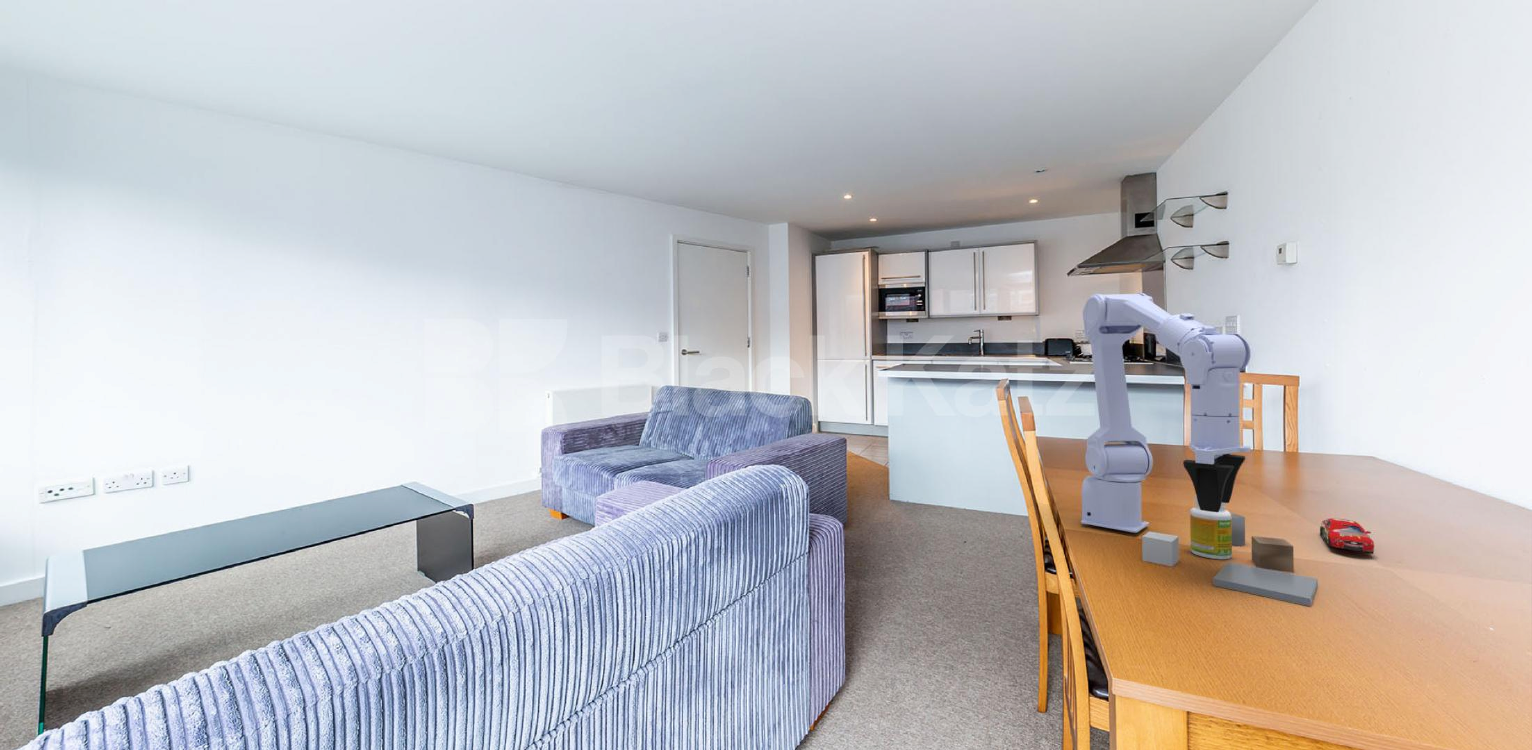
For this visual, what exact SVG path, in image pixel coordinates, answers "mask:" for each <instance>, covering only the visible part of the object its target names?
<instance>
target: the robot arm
mask: <svg viewBox="0 0 1532 750" xmlns="http://www.w3.org/2000/svg"><path fill="white" fill-rule="evenodd" d="M1195 317H1196V316H1195V315H1193V313H1179V314H1173V315H1172V314H1170V313H1169V312H1167V311H1165V310H1164V309H1163V308H1161V307H1160V306H1158V305H1157V304H1155V303H1154V299H1153V296H1150V295H1147V294H1145V293H1142V292H1138V293H1124V294H1123V293H1120V294H1119V293H1118V294H1117V293H1116V294H1115V293H1114V294H1112V293H1111V294H1101V293H1094V294H1092V295H1090V296H1089V298H1088V299H1087V300H1086V302H1085V305H1084V307H1083V310H1082V320H1083V327H1084V335H1085V339H1086V340H1088V341H1089V342H1090V350H1091V359H1092V367H1093V375H1094V377H1093V378H1094V382H1095V384H1094V385H1095V393H1096V395H1095V396H1096V401H1097V410H1098V419H1099V421H1098V422H1099V428H1098V429H1097V430H1096V431H1094V432H1093V433H1092V434H1091V435H1090V436H1089V435H1088V437H1087V438H1086V452H1085V458H1084V459H1085V465H1086V468H1087V470H1088V471H1089V473H1090V474H1091V475H1087V476H1085V477H1084V479H1083V482H1082V485H1081V486H1082V487H1081V520H1080V523H1081V524H1083V525H1090V526H1091V525H1092V526H1095V527H1102V528H1106V529H1112V530H1113V529H1114V530H1118V531H1124V532H1129V533H1135V534H1136V533H1138V532H1140V531H1141V530H1143V529H1145V528H1146V527H1147V526H1149V524H1150V522H1148V521H1145V520H1144V521H1143V520H1142V481H1146V476H1148V475H1149V474H1150V473H1151V471H1152V468H1153V465H1154V458H1153V455H1152V453H1151V450H1150V449H1149V446H1148V443H1147V437H1146V435H1144V433H1143V434H1142V433H1141V432H1140V431H1138V430H1137V429H1136V428H1134V427H1133V424H1132V417H1131V410H1130V401H1129V393H1128V388H1127V387H1128V386H1127V378H1126V371H1125V362H1124V361H1125V360H1124V354H1123V353H1124V352H1123V345H1124V344H1125V342H1127V341H1128V340H1131V339H1133V338H1134V337H1135V336H1136V334H1138V333H1139V332H1140V330H1141V329H1142V328H1145V329H1147V330H1149V331H1151V332H1153V333H1155V338H1156V340H1157V342H1158V344H1159V345H1161V346H1162V347H1164V348H1165V349H1167V350H1169V351H1170V352H1172V353H1173V354H1175V355H1176V356H1178V357H1179V358H1180V363H1181V365H1182V367H1183V369H1184V370H1185V380H1186V382H1187V384H1189V385H1190V442H1189V444H1188V445H1189V446H1188V448H1189V449H1190V450H1191V451H1192V452H1194V454H1195V457H1194V459H1195V460H1193V459H1184V460H1183V461H1182V463H1183V468H1184V470H1185V471H1186V473H1187V474H1188V475H1189V477H1190V479H1191V482H1192V484H1193V485H1192V486H1193V487H1194V488H1193V489H1194V492H1195V495H1196V496H1197V501H1198V504H1199V507H1200V510H1203V511H1210V512H1219V510H1220V507H1221V503H1226V504H1229V503H1230V501H1231V499H1232V494H1233V490H1234V486H1235V481H1236V478H1237V475H1238V472H1239V471H1240V468H1241V466H1242V465H1243V464H1244V463H1245V460H1246V456H1245V455H1241V454H1239V455H1238V453H1250V452H1251V447H1250V446H1249V445H1248V446H1247V445H1240V443H1241V442H1240V441H1241V440H1240V438H1241V437H1240V436H1241V435H1240V433H1241V432H1240V429H1241V428H1240V425H1241V423H1240V411H1241V410H1240V372H1241V371H1243V370H1245V368H1246V367H1247V366H1248V365H1249V362H1250V359H1251V348H1250V344H1249V342H1248V341H1247V340H1246V338H1244V337H1243V336H1242V335H1241V334H1240V333H1238V332H1233V333H1231V332H1230V333H1229V332H1228V333H1225V334H1224V333H1222V334H1221V333H1220V332H1218V331H1217V330H1216V328H1215V327H1214V326H1211V325H1205V324H1203V323H1201V322H1200V321H1198V320H1195ZM1107 443H1109V444H1107ZM1118 443H1119V444H1118Z"/></svg>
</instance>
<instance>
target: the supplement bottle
mask: <svg viewBox="0 0 1532 750" xmlns="http://www.w3.org/2000/svg"><path fill="white" fill-rule="evenodd" d="M1194 497H1195V498H1194V503H1195V504H1196V506H1194V507H1192V508H1191V509H1190V511H1189V512H1190V513H1189V515H1190V516H1189V522H1190V524H1189V525H1190V526H1189V527H1190V532H1189V533H1190V534H1189V536H1190V541H1189V542H1190V545H1189V546H1190V552H1192V554H1194V555H1196V556H1199V557H1202V558H1207V559H1212V560H1229V559H1231V558H1232V557H1233V554H1232V553H1233V552H1232V551H1233V549H1232V548H1233V546H1232V518H1231V514H1232V513H1231V512H1230V511H1229V510H1227V509H1225V507H1227V503H1221V507H1220V510H1219V512H1210V511H1203V510H1200V507H1199V504H1198V501H1197V496H1196V494H1195V496H1194Z"/></svg>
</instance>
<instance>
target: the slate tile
mask: <svg viewBox="0 0 1532 750" xmlns="http://www.w3.org/2000/svg"><path fill="white" fill-rule="evenodd" d="M1318 581H1319V580H1318V578H1316V577H1310V576H1304V575H1300V574H1299V575H1298V574H1295V573H1291V572H1285V571H1278V570H1269V569H1263V568H1259V567H1258V566H1257V567H1256V566H1253V565H1247V564H1242V563H1237V562H1231V561H1227V562H1226V563H1225V564H1224V565H1223V566H1222V568H1221V569H1220V570H1219V571H1218V572H1217V573H1216V575H1215V576H1213V581H1212V582H1213V583H1212V584H1213V586H1215V587H1218V588H1222V589H1223V588H1224V589H1229V590H1234V591H1238V592H1243V593H1246V594H1251V595H1256V596H1260V597H1266V598H1271V599H1274V600H1279V601H1284V602H1289V603H1292V604H1293V603H1294V604H1297V605H1303V606H1306V607H1311V605H1312V603H1313V600H1314V597H1315V594H1316V592H1317V589H1318V585H1319V584H1318Z"/></svg>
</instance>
